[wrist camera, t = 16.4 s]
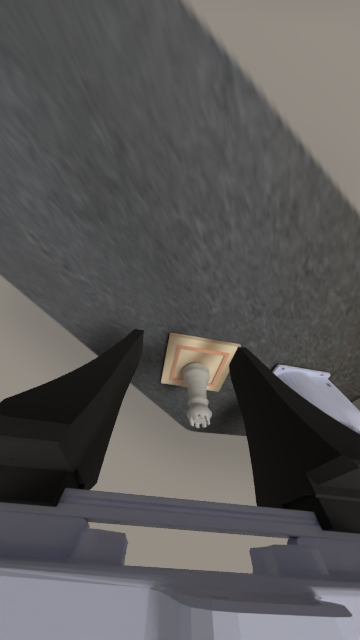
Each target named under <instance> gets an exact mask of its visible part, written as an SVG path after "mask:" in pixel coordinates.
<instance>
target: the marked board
mask: <svg viewBox="0 0 360 640" xmlns="http://www.w3.org/2000/svg"><path fill="white" fill-rule="evenodd" d="M238 347H241V345H240V344H235V343H229V342H223V341H218V340H212V339H206V338H200V337H194V336H188V335H182V334H177V333H171V332H170V336H169V341H168V347H167V352H166V357H165V363H164V368H163V374H162V379H161V383H164V384H171V385H178V386H184V387H187V386H186V383H185V382H184V379H183V369H184V368H185V367H186V366H187V365H188V364H190V363H195V362H197V363H202V364H204V365H205V366H206V367H207V368H208V369H209V376H210V379H209V382H208V384H207V387H206V390H211V391H218V392H219V390H220V388H221V386H222V384H223V382H224V380H225V378H226V377H227V375H228V373H229V371H230V370H229V364H230V362H231V360H232V358H233V356H234V354H235V352H236V350H237V348H238Z"/></svg>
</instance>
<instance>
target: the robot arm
mask: <svg viewBox="0 0 360 640" xmlns="http://www.w3.org/2000/svg"><path fill="white" fill-rule="evenodd" d="M143 332H144V330H138V329H135V330H133V331H132V332H131V333H130V334H128V335H127V336H126V337H125V338H124V339H122V340H121V341H120V342H119V343H117V344H116V345H115V346H113V347H112V348H111V349H109V350H108V351H106V352H105V353H103V354H102V355H100V356H99V357H97V358H96V359H94V360H92V361H91V362H89V363H87V364H85V365H83V366H82V367H80V368H78V369H76V370H74V371H72V372H70V373H68V374H66V375H63V376H61V377H59V378H57V379H55V380H52V381H50V382H48V383H46V384H43V385H40V386H38V387H35V388H33V389H30V390H28V391H25V392H22V393H20V394H17V395H15V396H12V397H9V398H6V399H4V400H3V401H1V402H0V640H360V411H359V410H358V409H357V408H356V407H355V406H354V405H353V404H352V403H351V402H350V401H349V400H348V399H347V398H346V397H345V396H344V395H343V394H342V393H341V392H340V391H339V390H338V389H337V388H336V387H335V386H334V385H333V384H332V383H331V382H330V381H329V380H328V379H327V378H329V377H330V374H329V373H328V372H322V371H316V370H310V369H304V368H298V367H292V366H286V365H277V366H276V367H275V369H274V370H273V371H271V370H270V369H268V368H267V367H266V366H265V365H264V364H263V363H262V362H261V361H260V360H259V359H258V358H257V357H256V356H255V355H254V354H252V353H251V352H250V351H249V350H248V349H247V348H244V347H238V348H237V350H236V352H235V354H234V356H233V358H232V360H231V362H230V364H229V370H230V376H231V380H232V383H233V386H234V390H235V393H236V396H237V399H238V402H239V405H240V408H241V412H242V416H243V420H244V425H245V430H246V435H247V440H248V445H249V451H250V457H251V464H252V470H253V477H254V486H255V494H256V503H257V506H248V505H237V504H227V503H216V502H206V501H195V500H186V499H175V498H164V497H155V496H144V495H134V494H123V493H113V492H103V491H92V490H90V489H91V488H92V487H93V486H94V485H95V484H96V483H97V480H98V477H99V474H100V470H101V467H102V464H103V460H104V457H105V453H106V450H107V447H108V444H109V441H110V437H111V434H112V431H113V428H114V425H115V422H116V419H117V416H118V412H119V409H120V406H121V404H122V401H123V398H124V395H125V393H126V391H127V388H128V386H129V384H130V382H131V379H132V377H133V375H134V373H135V370H136V368H137V366H138V363H139V360H140V357H141V354H142V346H143ZM88 522H97V523H109V524H120V525H132V526H144V527H156V528H169V529H180V530H193V531H205V532H217V533H229V534H242V535H254V536H265V537H277V538H289V539H288V542H287V545H271V546H268V547H260V548H250V556H251V561H252V565H253V573H252V574H248V573H233V572H218V571H203V570H187V569H172V568H157V567H139V566H126V565H124V561H125V554H126V549H127V544H128V541H127V539H126V535H125V533H119V532H113V531H106V530H100V529H89V524H88Z"/></svg>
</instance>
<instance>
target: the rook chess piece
mask: <svg viewBox="0 0 360 640" xmlns="http://www.w3.org/2000/svg"><path fill="white" fill-rule="evenodd" d="M183 379H184V382H185V383H186V386H187V387H188V391H189V401H188V404H189V406H190V408H189V410H188V411H187V414H186V415H187V417H188V419H189V423H190V425H191V426H194V423H195V428H199V424H202V427H203V428H204V427H207V426H206V423H207V425H210V418H211V416H212V412H211V411H210V410H209V409H208V408H207V405H208V403H209V402H208V400H207V398H206V387H207V384H208V382H209V379H210V376H209V369H208V368H207V367H206V366H205V365H204V364H202V363H197V362H195V363H190V364H188V365H187V366H186V367H185V368H184V369H183Z"/></svg>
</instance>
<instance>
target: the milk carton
mask: <svg viewBox="0 0 360 640" xmlns="http://www.w3.org/2000/svg"><path fill="white" fill-rule="evenodd" d="M352 404H353V405H354V406H355V407H356V408H357V409H358V410H359V411H360V398H359V399H357V400H355V401H354V402H352Z"/></svg>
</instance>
